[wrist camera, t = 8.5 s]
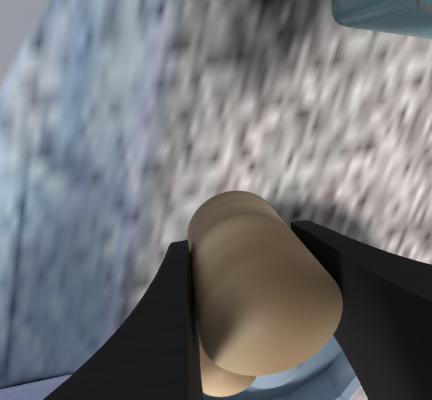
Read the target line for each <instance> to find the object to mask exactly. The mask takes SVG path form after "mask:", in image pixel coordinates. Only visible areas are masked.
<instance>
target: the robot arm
mask: <svg viewBox="0 0 432 400" xmlns="http://www.w3.org/2000/svg"><path fill="white" fill-rule="evenodd" d="M291 230H292V231H293V232H294V234H295V235H296V236H297V237H298V238H299V239H300V241H301V242H302V243H303V244H304V245H305V246H306V248H307V249H308V250H309V251H310V252H311V253H312V254H313V256H314V257H315V258H316V259H317V260H318V261H319V263H320V264H321V265H322V266H323V267H324V268H325V270H326V271H327V272H328V273H329V274H330V275H331V276H332V278H333V279H334V280H335V281H336V283H337V285H338V286H339V288H340V291H341V294H342V300H343V310H342V315H341V319H340V322H339V324H338V327H337V329H336V331H335V332H334V334H333V336H334V337H335V339H336V340H337V342H338V344H339V345H340V347H341V349H342V350H343V352H344V354H345V356H346V358H347V359H348V361H349V363H350V365H351V367H352V369H353V370H354V372H355V374H356V376H357V378H358V380H359V382H360V384H361V386H362V388H363V390H364V391H365V393H366V395H367V397H368V399H369V400H432V265H430V264H426V263H423V262H419V261H415V260H412V259H409V258H405V257H402V256H398V255H395V254H392V253H389V252H386V251H383V250H380V249H378V248H375V247H372V246H369V245H366V244H364V243H361V242H359V241H356V240H354V239H351V238H349V237H347V236H344V235H342V234H339V233H337V232H335V231H332V230H330V229H328V228H325V227H323V226H320V225H318V224H316V223H313V222H310V221H307V220H303V221H297V222H291ZM0 400H204V396H203V388H202V380H201V367H200V342H199V326H198V318H197V310H196V302H195V294H194V286H193V276H192V265H191V258H190V251H189V245H188V240H185V241H179V242H173V243H171V244H170V245H169V247H168V250H167V253H166V255H165V258H164V260H163V262H162V264H161V266H160V268H159V270H158V272H157V274H156V276H155V278H154V279H153V281H152V283H151V284H150V286H149V288H148V289H147V291H146V292H145V294H144V296H143V297H142V299H141V300H140V301H139V303H138V304H137V306H136V307H135V308H134V310H133V311H132V312H131V314H130V315H129V316H128V318H127V319H126V320H125V321H124V322H123V324H122V325H121V326H120V327H119V328H118V330H117V331H116V332H115V333H114V334H113V335H112V336H111V337H110V339H109V340H108V341H107V342H106V343H105V344H104V345H103V346H102V347H101V348H100V349H99V350H98V351H97V352H96V353H95V354H94V355H93V356H92V357H91V358H90V359H89V360H88V361H87V362H86V363H85V364H83V365H82V366H81V367H80V368H79V369H78V370H77V371H76V372H75V373H74V374H70V375H65V376H61V377H56V378H51V379H47V380H42V381H37V382H33V383H28V384H23V385H19V386H14V387H9V388H5V389H0Z"/></svg>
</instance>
